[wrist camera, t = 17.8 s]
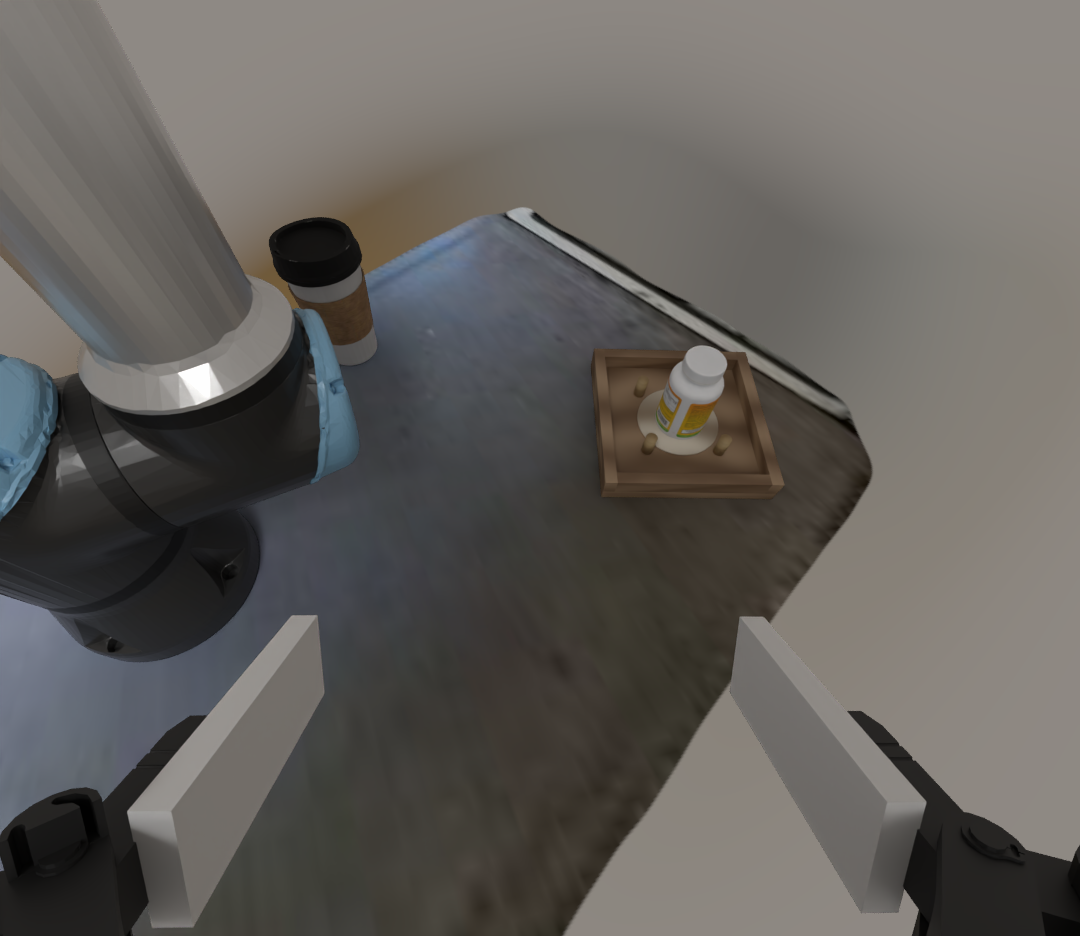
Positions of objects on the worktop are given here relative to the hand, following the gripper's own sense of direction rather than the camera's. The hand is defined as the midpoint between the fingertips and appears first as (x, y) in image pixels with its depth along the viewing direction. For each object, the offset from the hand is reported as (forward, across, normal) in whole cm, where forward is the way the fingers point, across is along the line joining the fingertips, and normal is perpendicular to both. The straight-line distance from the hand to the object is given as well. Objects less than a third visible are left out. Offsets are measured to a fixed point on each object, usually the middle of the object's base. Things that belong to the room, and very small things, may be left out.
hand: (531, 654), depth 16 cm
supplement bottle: (+41, +17, +1) cm, 45 cm away
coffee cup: (+50, -21, +8) cm, 55 cm away
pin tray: (+42, +17, 0) cm, 46 cm away
